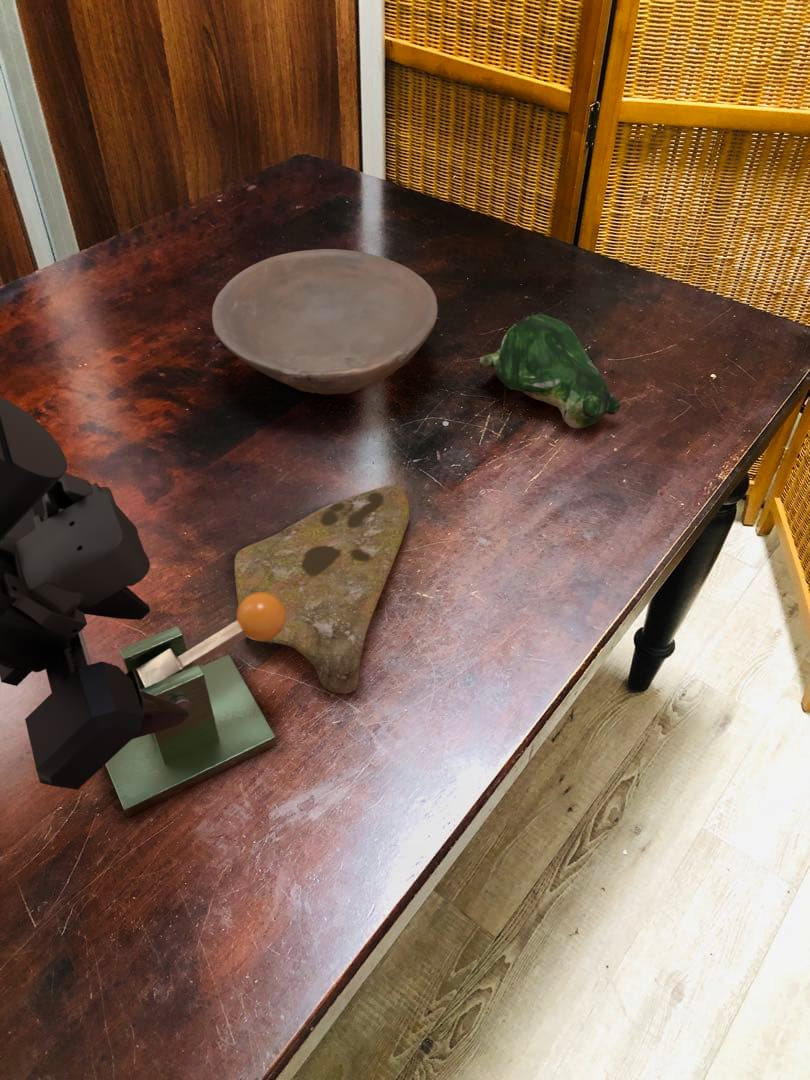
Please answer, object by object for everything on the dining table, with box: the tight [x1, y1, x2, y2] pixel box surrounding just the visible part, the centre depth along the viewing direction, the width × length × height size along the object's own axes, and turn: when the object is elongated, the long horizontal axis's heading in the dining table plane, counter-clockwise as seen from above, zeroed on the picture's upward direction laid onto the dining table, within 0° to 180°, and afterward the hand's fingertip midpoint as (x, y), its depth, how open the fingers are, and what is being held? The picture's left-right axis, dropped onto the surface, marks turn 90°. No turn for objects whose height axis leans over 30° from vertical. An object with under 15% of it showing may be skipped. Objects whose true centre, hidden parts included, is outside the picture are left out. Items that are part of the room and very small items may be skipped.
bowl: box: [211, 248, 439, 395], centre depth 100 cm, size 25×25×8 cm
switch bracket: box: [104, 624, 277, 818], centre depth 65 cm, size 12×9×10 cm
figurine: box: [477, 313, 621, 429], centre depth 97 cm, size 14×9×15 cm
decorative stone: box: [233, 484, 411, 694], centre depth 81 cm, size 25×15×5 cm, turn 165°
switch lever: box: [137, 592, 286, 688], centre depth 64 cm, size 11×4×4 cm, turn 121°
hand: (164, 663), depth 58 cm, fingers open, 9 cm apart
